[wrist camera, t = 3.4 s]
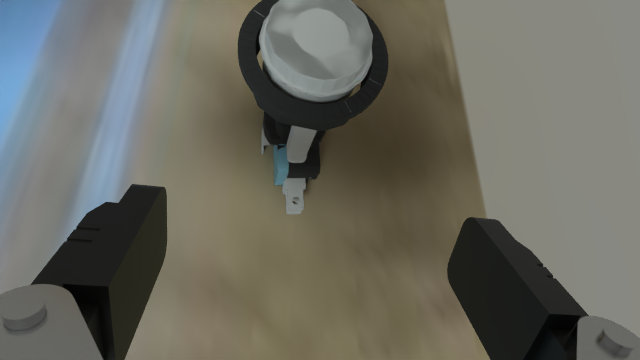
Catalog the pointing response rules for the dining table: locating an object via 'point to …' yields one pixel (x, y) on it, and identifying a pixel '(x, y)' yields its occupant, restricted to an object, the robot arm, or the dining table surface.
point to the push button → (308, 78)
